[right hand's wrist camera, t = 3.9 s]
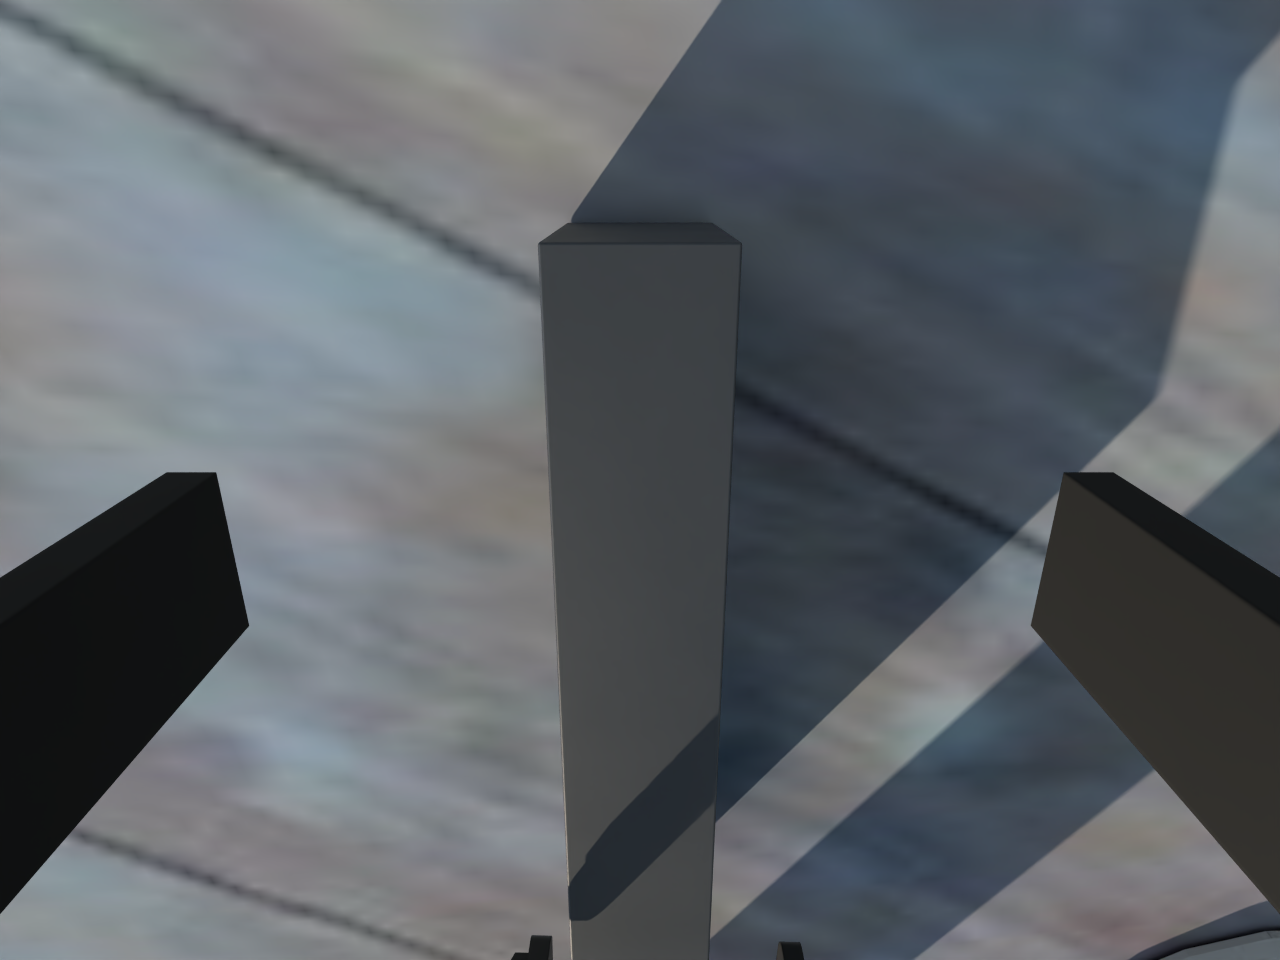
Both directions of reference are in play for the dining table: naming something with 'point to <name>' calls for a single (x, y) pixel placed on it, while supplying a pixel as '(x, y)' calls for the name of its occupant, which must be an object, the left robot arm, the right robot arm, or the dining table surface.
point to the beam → (640, 568)
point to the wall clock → (1235, 949)
